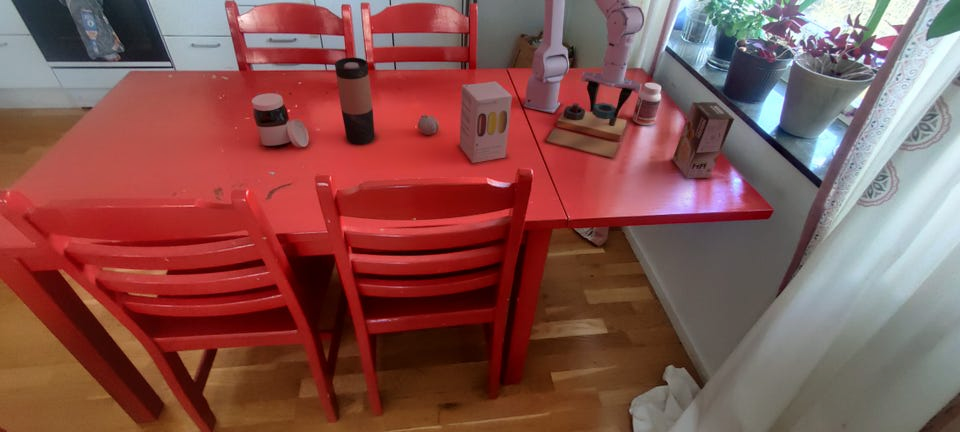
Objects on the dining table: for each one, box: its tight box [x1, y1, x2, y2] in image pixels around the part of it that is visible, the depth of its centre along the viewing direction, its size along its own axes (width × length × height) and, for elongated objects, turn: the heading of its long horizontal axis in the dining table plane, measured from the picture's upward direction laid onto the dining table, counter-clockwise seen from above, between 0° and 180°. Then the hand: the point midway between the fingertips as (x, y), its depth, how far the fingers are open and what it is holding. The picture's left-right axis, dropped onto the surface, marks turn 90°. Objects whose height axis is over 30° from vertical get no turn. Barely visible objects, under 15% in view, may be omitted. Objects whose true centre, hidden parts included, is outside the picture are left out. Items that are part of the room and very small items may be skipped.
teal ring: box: [592, 102, 617, 119], centre depth 119 cm, size 6×6×2 cm
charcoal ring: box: [563, 105, 586, 121], centre depth 132 cm, size 6×6×2 cm
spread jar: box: [251, 92, 310, 150], centre depth 113 cm, size 12×11×12 cm
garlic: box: [417, 114, 440, 136], centre depth 123 cm, size 6×5×5 cm
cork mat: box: [545, 128, 619, 159], centre depth 124 cm, size 18×8×1 cm, turn 66°
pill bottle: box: [632, 82, 662, 126], centre depth 133 cm, size 6×6×11 cm
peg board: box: [555, 102, 628, 142], centre depth 130 cm, size 18×10×6 cm, turn 66°
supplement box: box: [459, 80, 513, 164], centre depth 113 cm, size 10×9×17 cm
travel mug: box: [334, 57, 375, 146], centre depth 114 cm, size 8×8×20 cm
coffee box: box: [672, 101, 735, 179], centre depth 112 cm, size 9×6×16 cm
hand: (603, 112), depth 119 cm, fingers closed on teal ring, 5 cm apart
